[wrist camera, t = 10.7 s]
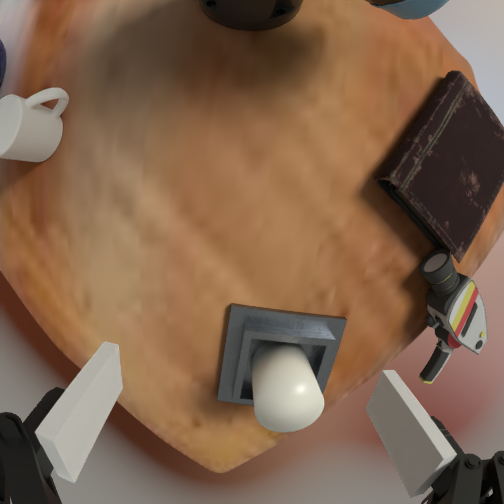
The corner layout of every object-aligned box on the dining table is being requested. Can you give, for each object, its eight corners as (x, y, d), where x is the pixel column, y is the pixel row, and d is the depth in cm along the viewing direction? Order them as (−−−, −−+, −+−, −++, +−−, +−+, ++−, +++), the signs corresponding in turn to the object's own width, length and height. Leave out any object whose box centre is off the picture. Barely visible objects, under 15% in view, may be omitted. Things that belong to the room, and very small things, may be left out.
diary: (369, 178, 36) (386, 175, 31) (441, 75, 33) (458, 66, 28) (444, 261, 39) (463, 267, 34) (501, 155, 36) (519, 153, 31)
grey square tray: (231, 303, 38) (230, 313, 35) (344, 316, 39) (353, 327, 36) (217, 396, 41) (216, 410, 37) (316, 404, 42) (321, 417, 39)
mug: (-23, 128, 22) (32, 60, 21) (19, 136, 32) (69, 82, 31) (-9, 171, 23) (50, 99, 22) (36, 173, 33) (89, 118, 33)
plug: (256, 337, 38) (261, 379, 28) (312, 343, 39) (332, 383, 29) (246, 383, 39) (249, 430, 30) (299, 388, 40) (313, 432, 30)
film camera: (368, 308, 40) (436, 242, 39) (418, 378, 42) (474, 322, 41) (387, 326, 33) (462, 249, 32) (435, 398, 36) (496, 335, 34)
